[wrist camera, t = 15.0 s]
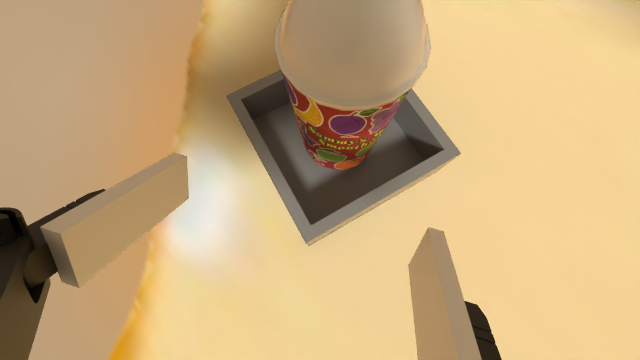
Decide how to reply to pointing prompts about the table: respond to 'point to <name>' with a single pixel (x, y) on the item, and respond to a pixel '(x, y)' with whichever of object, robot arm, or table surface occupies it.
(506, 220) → the table surface
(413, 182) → the holder tray
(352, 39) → the smoothie
